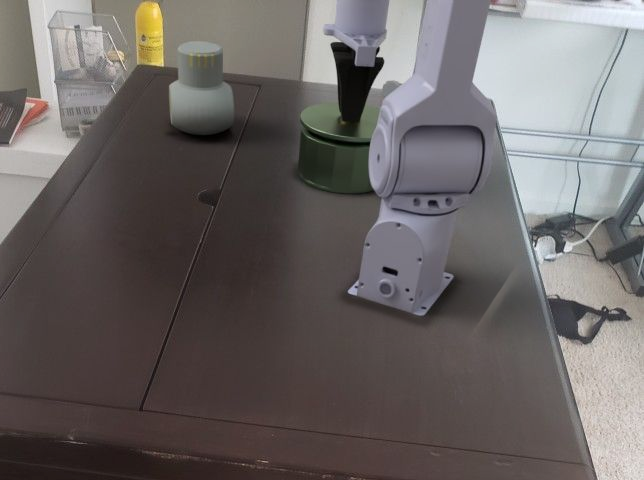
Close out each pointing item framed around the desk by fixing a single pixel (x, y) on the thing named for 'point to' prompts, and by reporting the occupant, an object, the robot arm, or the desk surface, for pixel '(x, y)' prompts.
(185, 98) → the air freshener
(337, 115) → the lid
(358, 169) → the tin
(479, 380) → the desk surface
